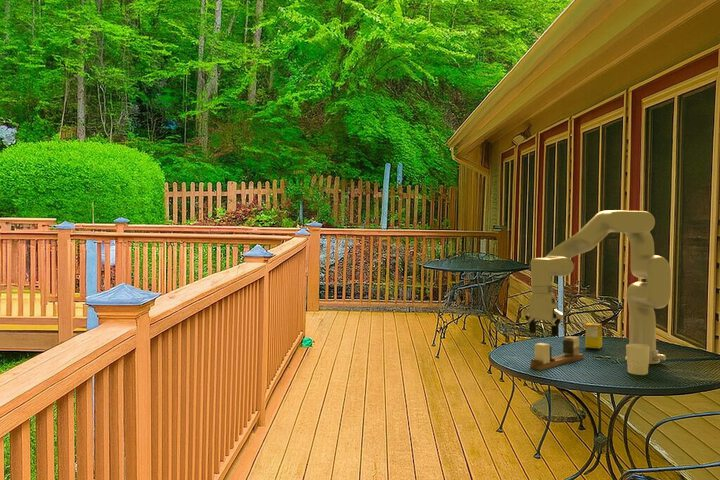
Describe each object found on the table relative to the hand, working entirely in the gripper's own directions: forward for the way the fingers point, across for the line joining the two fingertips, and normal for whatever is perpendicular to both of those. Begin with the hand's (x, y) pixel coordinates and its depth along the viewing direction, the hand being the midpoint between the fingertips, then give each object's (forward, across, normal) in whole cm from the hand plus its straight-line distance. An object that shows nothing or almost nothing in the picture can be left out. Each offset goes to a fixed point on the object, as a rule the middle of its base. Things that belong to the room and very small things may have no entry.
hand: (543, 334), depth 227 cm
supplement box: (+14, +7, -46) cm, 49 cm away
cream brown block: (+11, 0, +1) cm, 11 cm away
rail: (+13, +1, -10) cm, 16 cm away
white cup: (+14, -27, -18) cm, 35 cm away
